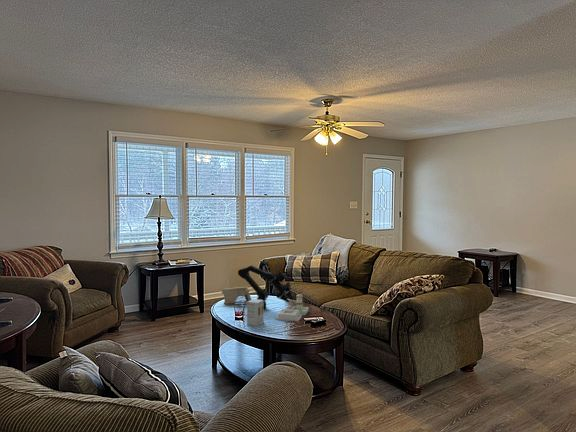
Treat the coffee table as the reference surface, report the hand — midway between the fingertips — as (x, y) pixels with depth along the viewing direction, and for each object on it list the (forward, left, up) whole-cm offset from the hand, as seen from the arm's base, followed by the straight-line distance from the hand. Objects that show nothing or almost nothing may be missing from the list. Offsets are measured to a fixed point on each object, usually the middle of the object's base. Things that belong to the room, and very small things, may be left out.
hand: (290, 300), depth 315 cm
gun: (-51, +11, -9) cm, 53 cm away
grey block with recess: (+2, -16, -9) cm, 18 cm away
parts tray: (+7, -1, -9) cm, 12 cm away
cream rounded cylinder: (+7, -1, -8) cm, 11 cm away
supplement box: (-18, -35, -9) cm, 40 cm away
